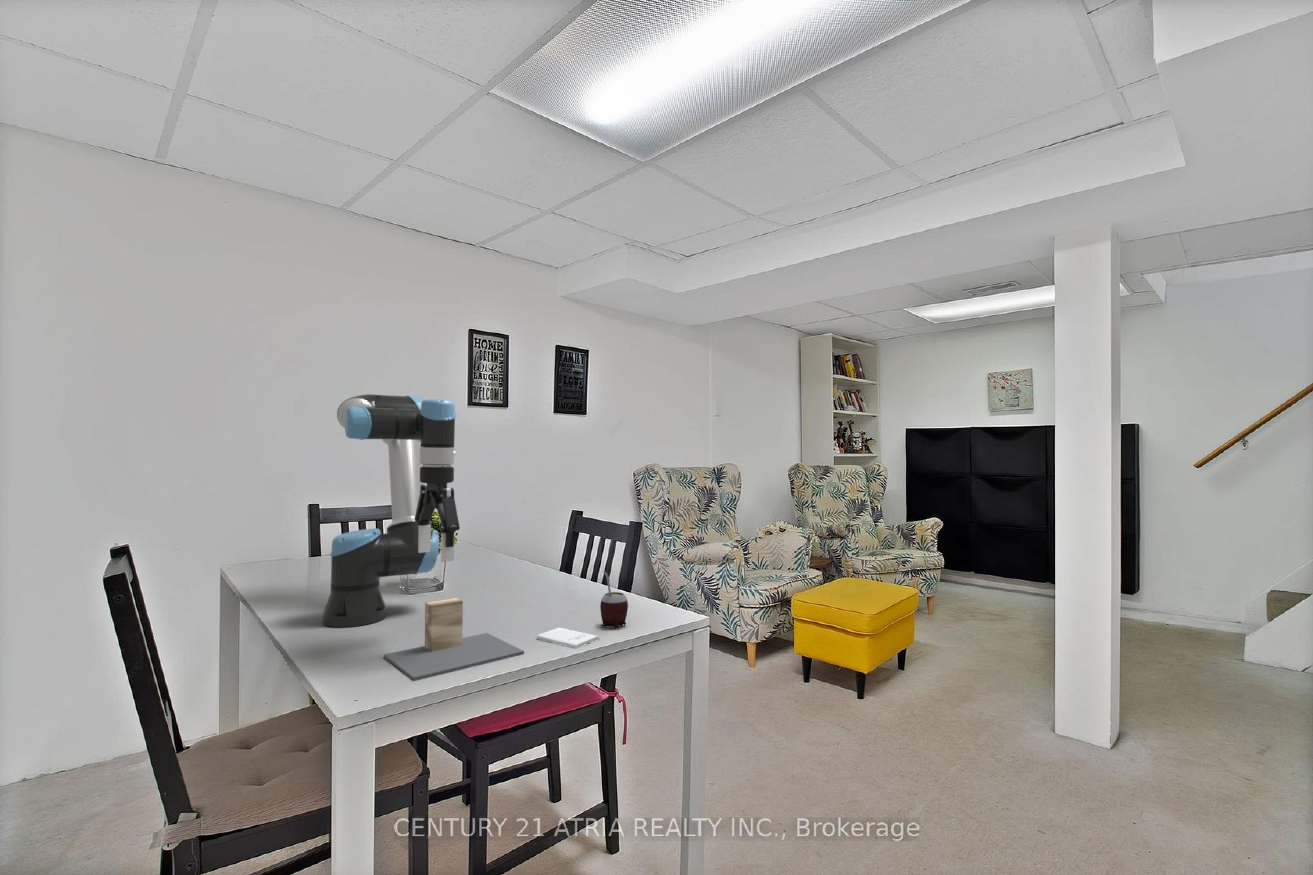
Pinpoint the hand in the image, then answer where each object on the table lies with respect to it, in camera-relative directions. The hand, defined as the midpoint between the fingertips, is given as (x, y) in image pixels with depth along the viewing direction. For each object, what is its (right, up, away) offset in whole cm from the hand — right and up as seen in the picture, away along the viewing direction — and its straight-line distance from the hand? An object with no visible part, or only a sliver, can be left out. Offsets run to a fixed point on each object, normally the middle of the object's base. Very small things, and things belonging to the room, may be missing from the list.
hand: (435, 556), depth 142 cm
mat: (+8, -20, -9) cm, 23 cm away
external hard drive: (+31, -21, +3) cm, 37 cm away
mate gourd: (+41, -21, +14) cm, 48 cm away
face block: (+4, -19, -5) cm, 20 cm away
